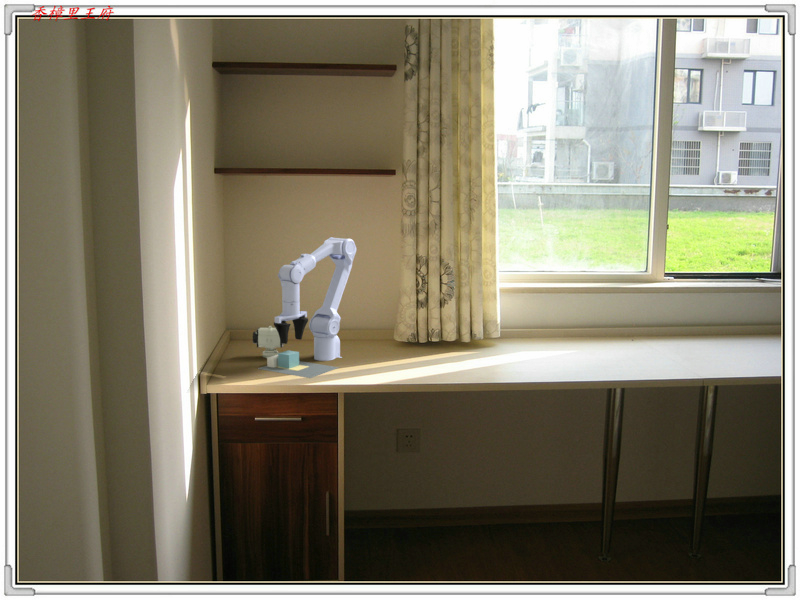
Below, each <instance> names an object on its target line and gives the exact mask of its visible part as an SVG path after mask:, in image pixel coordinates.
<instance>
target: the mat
mask: <svg viewBox="0 0 800 600" xmlns="http://www.w3.org/2000/svg"><path fill="white" fill-rule="evenodd" d="M336 369H337V370H338V369H340V367H338V366H334V365H333V366H331V365H328V364H327V365H325V364H319V363H314V362H307V361H301V360H299V366H296V367H293V368H290V369H288V368H282V367H278V366H277V367H275V368H273V367H268V366H267V365H264V366H261V367H257V370H263V371H268V372H274V373H278V374H284V375H290V376H296V377H300V378H301V377H302V378H306V379H312V378H315V377H317V376H321V375H323V374H326V373H329V372H331V371H334V370H336Z"/></svg>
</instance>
